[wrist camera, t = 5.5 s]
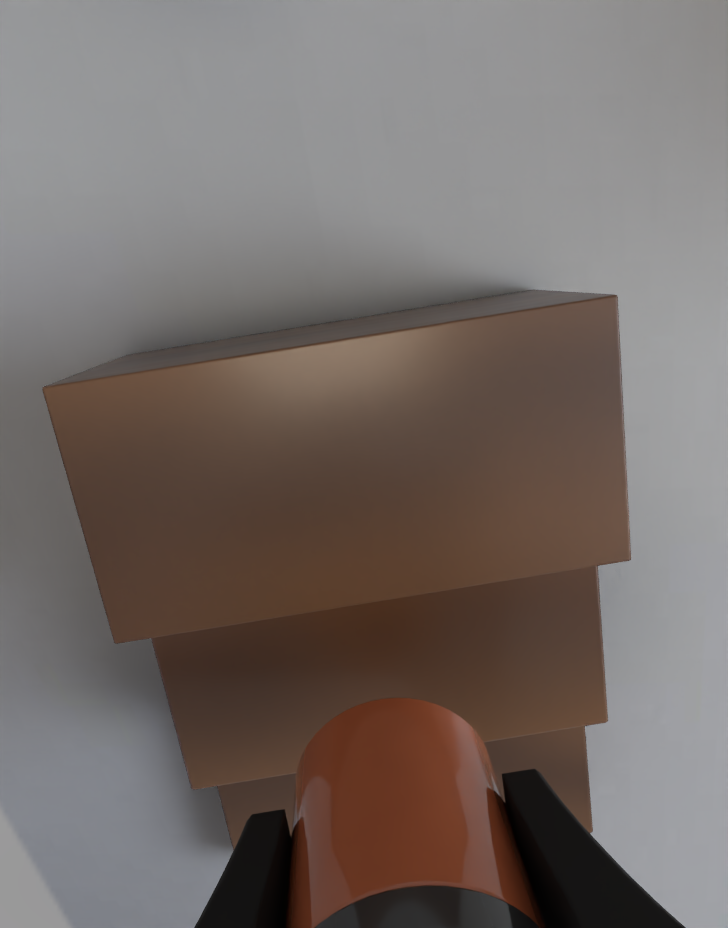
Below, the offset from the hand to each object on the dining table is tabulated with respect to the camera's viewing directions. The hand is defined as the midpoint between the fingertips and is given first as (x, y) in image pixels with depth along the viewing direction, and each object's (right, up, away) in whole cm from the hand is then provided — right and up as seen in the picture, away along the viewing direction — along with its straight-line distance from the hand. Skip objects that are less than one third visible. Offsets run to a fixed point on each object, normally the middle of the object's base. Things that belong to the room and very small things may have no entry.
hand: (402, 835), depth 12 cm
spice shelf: (0, +3, +8) cm, 8 cm away
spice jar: (0, 0, +1) cm, 1 cm away
